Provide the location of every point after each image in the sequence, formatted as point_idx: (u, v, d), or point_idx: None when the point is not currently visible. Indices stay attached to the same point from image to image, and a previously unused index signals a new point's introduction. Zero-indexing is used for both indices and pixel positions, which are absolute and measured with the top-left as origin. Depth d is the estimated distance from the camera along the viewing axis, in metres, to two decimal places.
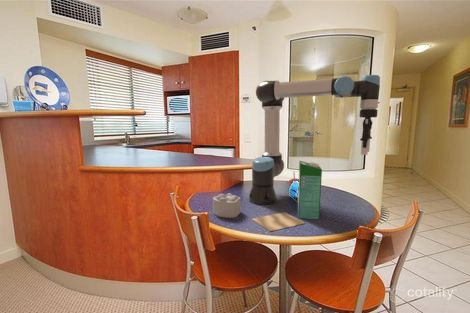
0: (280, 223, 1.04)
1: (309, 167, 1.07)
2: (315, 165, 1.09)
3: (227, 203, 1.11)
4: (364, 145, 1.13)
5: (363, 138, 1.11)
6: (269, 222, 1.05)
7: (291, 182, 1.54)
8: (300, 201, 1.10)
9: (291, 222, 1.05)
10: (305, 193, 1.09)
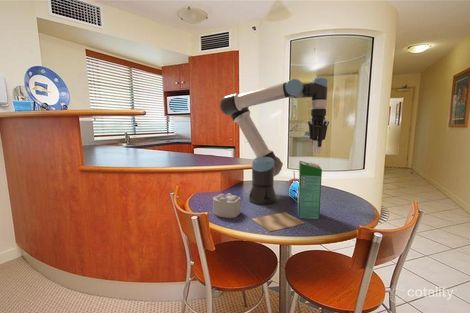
0: (280, 223, 1.04)
1: (309, 167, 1.07)
2: (315, 165, 1.09)
3: (227, 203, 1.11)
4: None
5: None
6: (269, 222, 1.05)
7: (291, 182, 1.54)
8: (300, 201, 1.10)
9: (291, 222, 1.05)
10: (305, 193, 1.09)
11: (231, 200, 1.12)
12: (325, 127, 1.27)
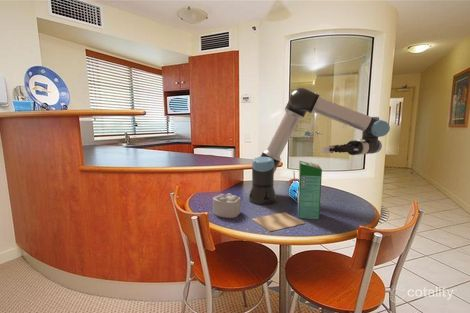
0: (280, 223, 1.04)
1: (309, 167, 1.07)
2: (315, 165, 1.09)
3: (227, 203, 1.11)
4: None
5: None
6: (269, 222, 1.05)
7: (291, 182, 1.54)
8: (300, 201, 1.10)
9: (291, 222, 1.05)
10: (305, 193, 1.09)
11: (231, 200, 1.12)
12: (352, 149, 1.18)
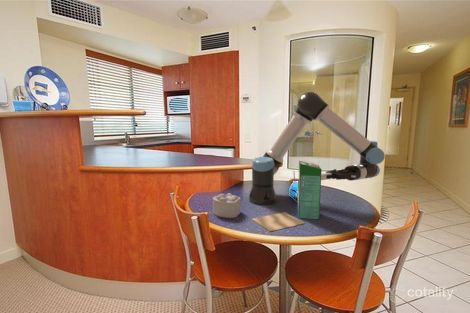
0: (280, 223, 1.04)
1: (309, 167, 1.07)
2: (315, 165, 1.09)
3: (227, 203, 1.11)
4: None
5: None
6: (269, 222, 1.05)
7: (291, 182, 1.54)
8: (300, 201, 1.10)
9: (291, 222, 1.05)
10: (304, 193, 1.09)
11: (231, 200, 1.12)
12: (349, 176, 1.16)
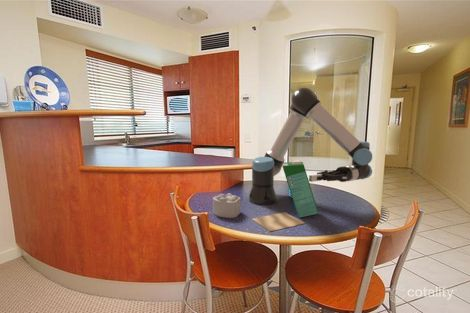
0: (280, 223, 1.04)
1: (291, 166, 1.08)
2: (297, 162, 1.10)
3: (227, 203, 1.11)
4: None
5: None
6: (269, 222, 1.05)
7: None
8: (294, 201, 1.10)
9: (291, 222, 1.05)
10: (296, 192, 1.10)
11: (231, 200, 1.12)
12: (340, 177, 1.13)
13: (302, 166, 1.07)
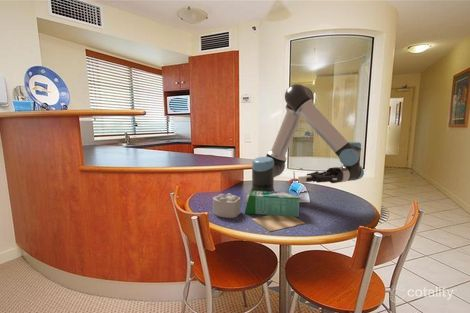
0: (280, 223, 1.04)
1: (247, 206, 1.15)
2: (247, 198, 1.17)
3: (227, 203, 1.11)
4: None
5: None
6: (269, 222, 1.05)
7: (291, 182, 1.54)
8: (281, 215, 1.13)
9: (291, 222, 1.05)
10: (272, 210, 1.13)
11: (231, 200, 1.12)
12: (330, 179, 1.11)
13: (250, 197, 1.14)
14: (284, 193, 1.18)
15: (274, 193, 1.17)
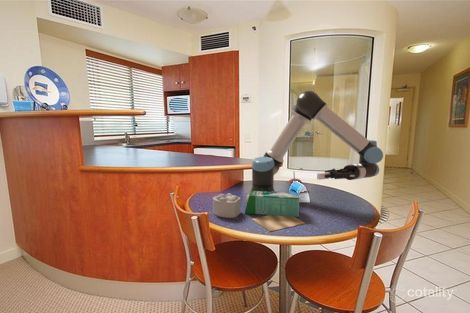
0: (280, 223, 1.04)
1: (247, 206, 1.15)
2: (247, 198, 1.17)
3: (227, 203, 1.11)
4: None
5: None
6: (269, 222, 1.05)
7: (291, 182, 1.54)
8: (281, 215, 1.13)
9: (291, 222, 1.05)
10: (273, 210, 1.13)
11: (231, 200, 1.12)
12: (348, 175, 1.15)
13: (250, 197, 1.14)
14: (284, 193, 1.18)
15: (274, 193, 1.17)
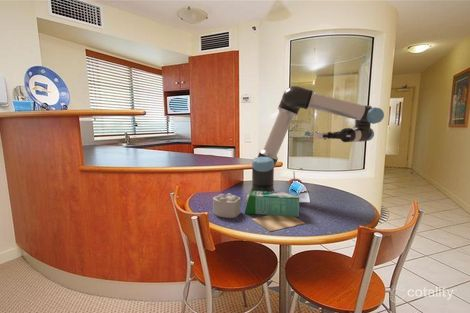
0: (280, 223, 1.04)
1: (247, 206, 1.15)
2: (247, 198, 1.17)
3: (227, 203, 1.11)
4: None
5: None
6: (269, 222, 1.05)
7: (291, 182, 1.54)
8: (281, 215, 1.13)
9: (291, 222, 1.05)
10: (272, 210, 1.13)
11: (231, 200, 1.12)
12: (344, 135, 1.22)
13: (250, 197, 1.14)
14: (284, 193, 1.18)
15: (274, 193, 1.17)
